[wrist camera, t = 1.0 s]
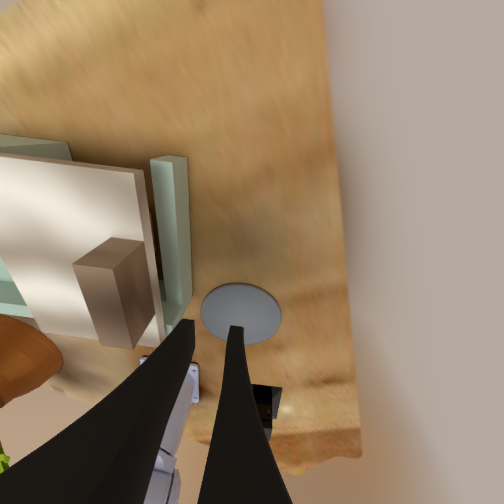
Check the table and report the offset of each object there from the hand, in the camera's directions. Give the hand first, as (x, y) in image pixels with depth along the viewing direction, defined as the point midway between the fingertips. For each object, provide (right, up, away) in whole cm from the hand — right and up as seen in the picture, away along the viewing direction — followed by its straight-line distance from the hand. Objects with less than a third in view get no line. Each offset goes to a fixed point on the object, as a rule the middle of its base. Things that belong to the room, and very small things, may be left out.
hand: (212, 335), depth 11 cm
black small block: (+4, -18, +23) cm, 30 cm away
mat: (+1, -3, +14) cm, 14 cm away
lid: (-10, +3, +4) cm, 11 cm away
